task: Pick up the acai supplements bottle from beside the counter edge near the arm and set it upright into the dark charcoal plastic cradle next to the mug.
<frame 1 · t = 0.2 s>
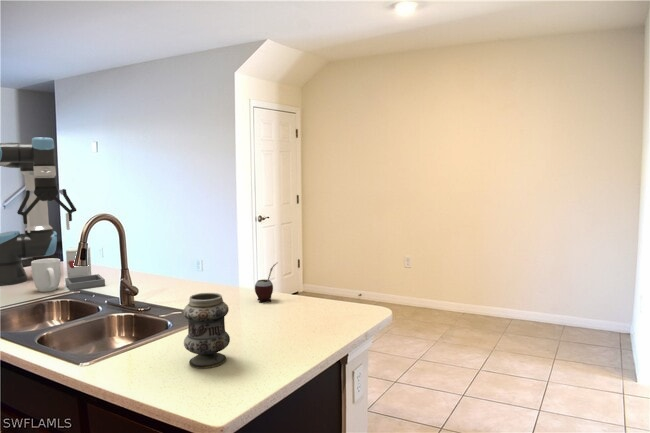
hand: (48, 231, 192), 28 cm above the worktop, tool pointing down, fingers open, 13 cm apart
mate gourd: (265, 301, 190), on the worktop
cradle: (85, 285, 218), on the worktop
apothecary jar: (207, 361, 131), on the worktop
supplement box: (79, 279, 231), on the worktop
mug: (48, 291, 210), on the worktop
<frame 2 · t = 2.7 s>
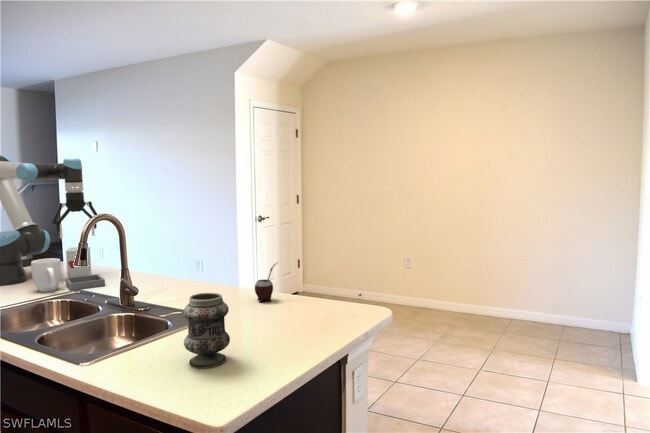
hand: (77, 236, 228), 20 cm above the worktop, tool pointing down, fingers open, 13 cm apart
nothing on the worktop moved.
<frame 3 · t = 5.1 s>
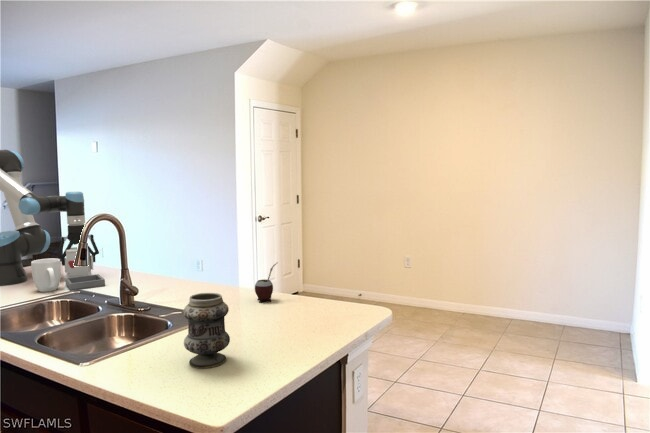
hand: (79, 270, 230), 4 cm above the worktop, tool pointing down, fingers closed on supplement box, 10 cm apart
supplement box: (79, 279, 231), on the worktop, touching gripper
everything else where it was.
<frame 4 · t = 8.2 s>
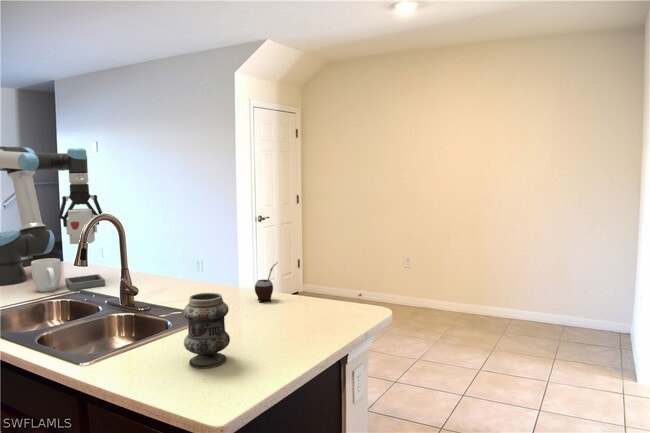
hand: (82, 233, 216), 24 cm above the worktop, tool pointing down, fingers closed on supplement box, 10 cm apart
supplement box: (82, 242, 216), point 19 cm above the worktop, touching gripper
everything else where it was.
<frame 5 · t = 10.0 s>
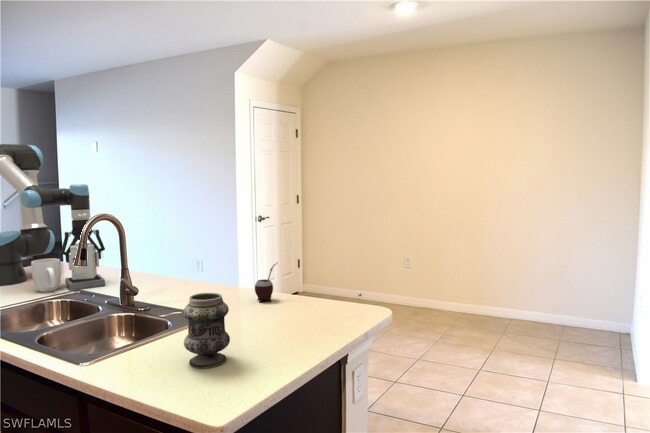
hand: (84, 268, 217), 8 cm above the worktop, tool pointing down, fingers closed on supplement box, 10 cm apart
supplement box: (84, 277, 218), point 4 cm above the worktop, touching gripper
everything else where it was.
when the fingers open (6 cm above the worktop, at t = 11.3 s): supplement box drops 1 cm, resting on cradle.
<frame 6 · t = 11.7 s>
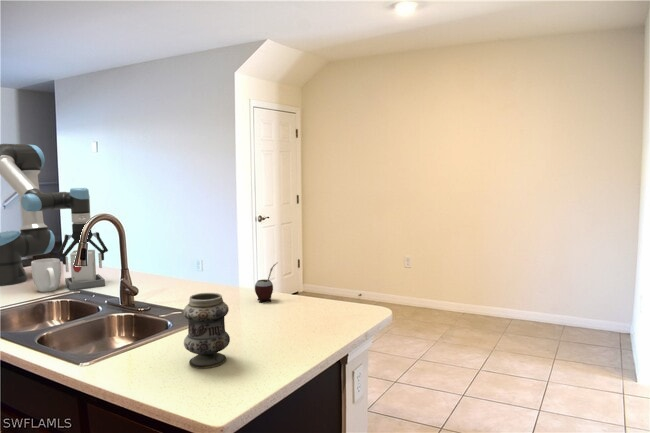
hand: (84, 269, 218), 7 cm above the worktop, tool pointing down, fingers open, 13 cm apart
supplement box: (84, 284, 218), resting on cradle
everything else where it was.
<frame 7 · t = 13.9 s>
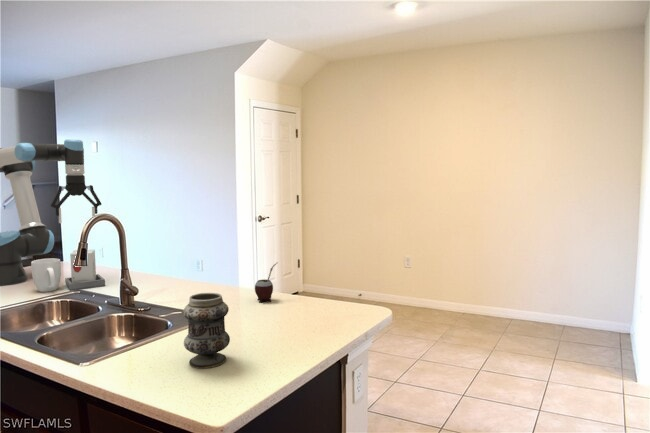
hand: (77, 222, 218), 28 cm above the worktop, tool pointing down, fingers open, 13 cm apart
nothing on the worktop moved.
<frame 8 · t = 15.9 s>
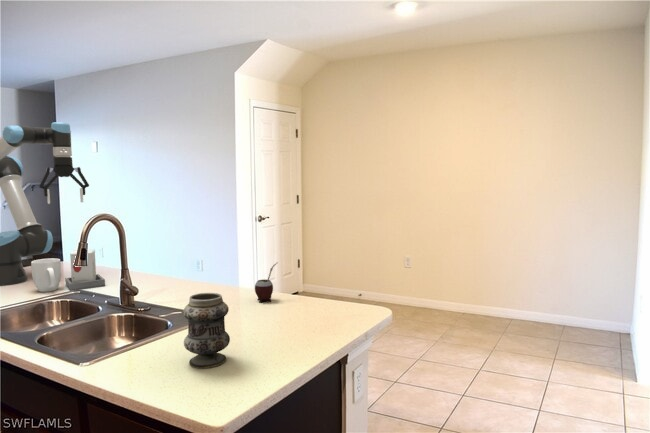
hand: (65, 203, 224), 37 cm above the worktop, tool pointing down, fingers open, 13 cm apart
nothing on the worktop moved.
at the end: supplement box 0.2 cm off-centre on the cradle, point 0.4 cm above the cradle's base; supplement box tilted 0°; the gripper is holding nothing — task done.
